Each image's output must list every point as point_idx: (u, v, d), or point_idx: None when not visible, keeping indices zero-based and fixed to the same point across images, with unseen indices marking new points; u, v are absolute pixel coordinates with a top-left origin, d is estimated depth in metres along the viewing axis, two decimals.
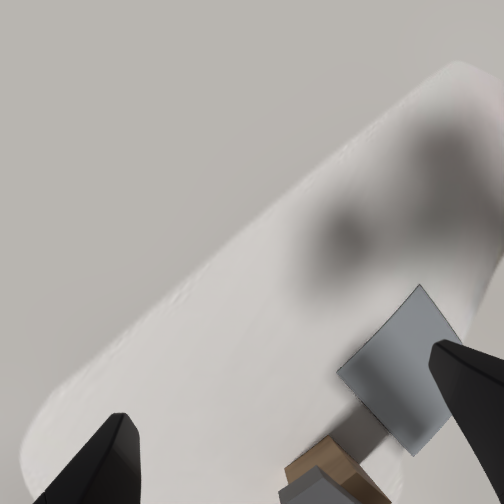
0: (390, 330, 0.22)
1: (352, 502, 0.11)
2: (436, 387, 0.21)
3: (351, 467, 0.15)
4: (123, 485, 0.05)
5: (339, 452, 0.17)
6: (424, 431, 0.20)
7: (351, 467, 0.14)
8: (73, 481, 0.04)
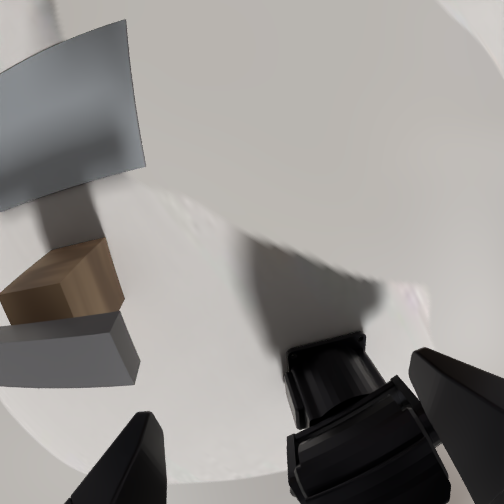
0: None
1: None
2: (73, 99, 0.15)
3: None
4: (151, 486, 0.05)
5: (27, 271, 0.15)
6: (118, 136, 0.16)
7: (4, 290, 0.12)
8: (101, 484, 0.04)
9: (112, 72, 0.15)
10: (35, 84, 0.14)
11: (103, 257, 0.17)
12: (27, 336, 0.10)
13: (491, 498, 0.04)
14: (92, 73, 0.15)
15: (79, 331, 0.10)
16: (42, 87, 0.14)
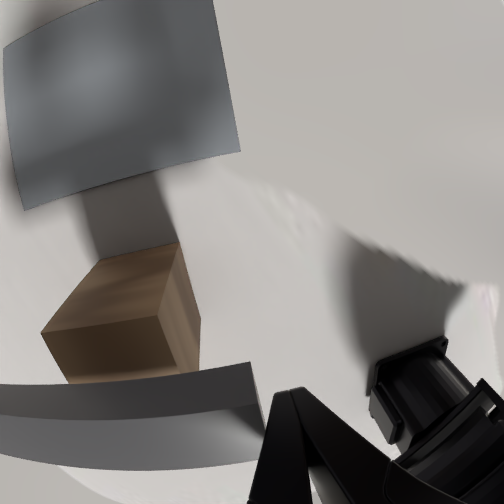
0: (15, 113, 0.11)
1: None
2: (138, 61, 0.12)
3: (50, 322, 0.09)
4: None
5: None
6: (203, 111, 0.13)
7: (49, 323, 0.09)
8: (276, 475, 0.05)
9: (194, 31, 0.11)
10: (80, 43, 0.11)
11: (181, 268, 0.14)
12: (94, 411, 0.06)
13: None
14: (165, 31, 0.11)
15: (195, 403, 0.06)
16: (91, 46, 0.11)
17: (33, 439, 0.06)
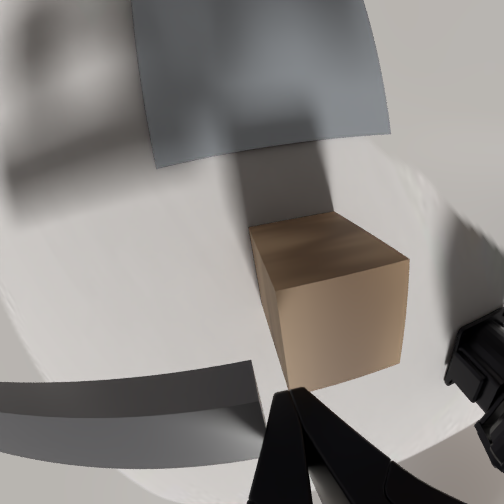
0: (152, 59, 0.12)
1: None
2: (304, 35, 0.12)
3: (270, 281, 0.10)
4: None
5: (259, 253, 0.12)
6: (363, 94, 0.13)
7: (270, 282, 0.10)
8: (276, 474, 0.05)
9: (352, 22, 0.12)
10: (236, 3, 0.11)
11: None
12: (94, 408, 0.06)
13: None
14: (327, 15, 0.12)
15: (196, 402, 0.06)
16: (252, 9, 0.11)
17: (32, 437, 0.06)
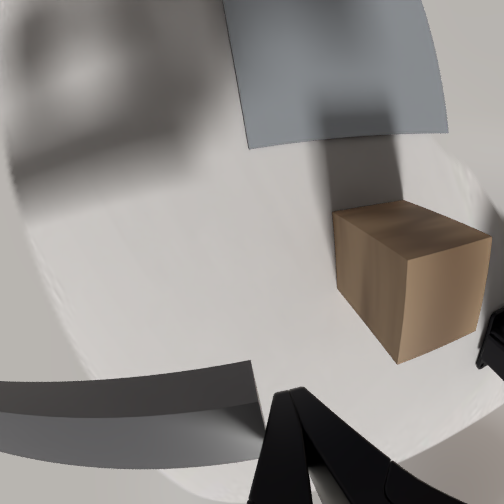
0: (245, 41, 0.12)
1: None
2: (381, 38, 0.12)
3: (395, 254, 0.10)
4: None
5: (362, 233, 0.12)
6: (428, 96, 0.14)
7: (396, 254, 0.10)
8: (276, 474, 0.05)
9: (417, 31, 0.12)
10: (321, 0, 0.12)
11: None
12: (93, 408, 0.06)
13: None
14: (398, 22, 0.12)
15: (194, 402, 0.06)
16: (337, 8, 0.12)
17: (30, 437, 0.06)
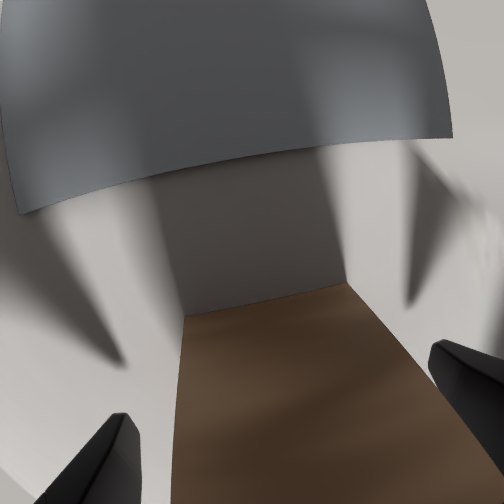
0: (18, 24, 0.04)
1: None
2: None
3: None
4: (124, 485, 0.05)
5: None
6: (407, 60, 0.06)
7: None
8: (74, 481, 0.04)
9: None
10: None
11: None
12: None
13: None
14: None
15: None
16: None
17: None
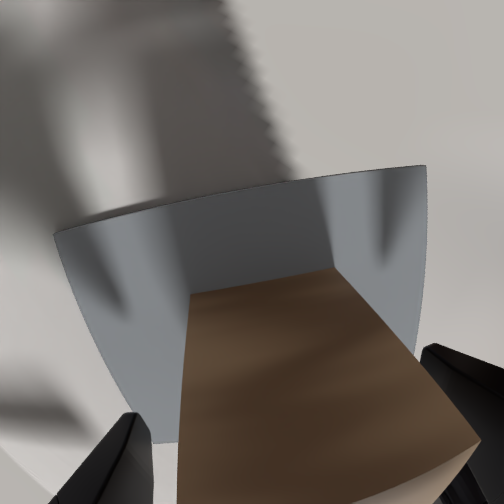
0: (119, 355, 0.10)
1: None
2: None
3: (179, 487, 0.03)
4: (136, 486, 0.05)
5: None
6: None
7: (178, 491, 0.03)
8: (87, 483, 0.04)
9: (401, 272, 0.10)
10: (227, 267, 0.09)
11: None
12: None
13: (501, 490, 0.04)
14: (369, 270, 0.10)
15: None
16: (253, 282, 0.09)
17: None
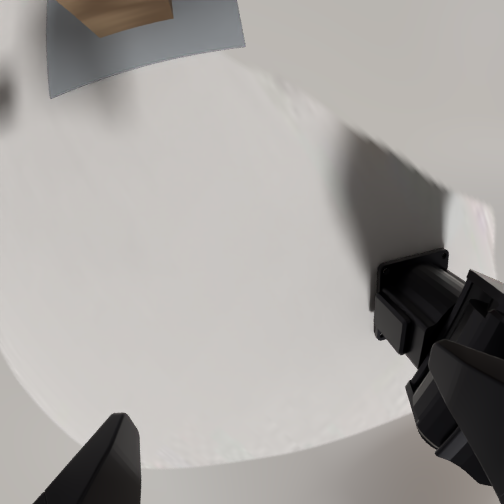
0: (55, 23, 0.12)
1: None
2: None
3: None
4: (123, 485, 0.05)
5: None
6: (216, 17, 0.14)
7: None
8: (73, 481, 0.04)
9: None
10: None
11: None
12: None
13: None
14: None
15: None
16: None
17: None
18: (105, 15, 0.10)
